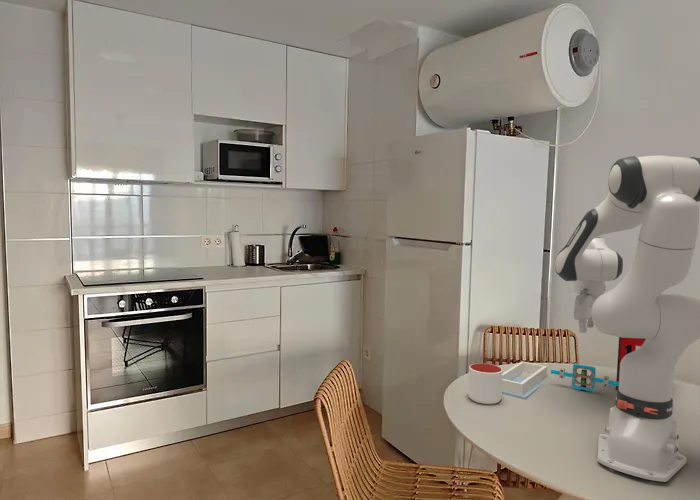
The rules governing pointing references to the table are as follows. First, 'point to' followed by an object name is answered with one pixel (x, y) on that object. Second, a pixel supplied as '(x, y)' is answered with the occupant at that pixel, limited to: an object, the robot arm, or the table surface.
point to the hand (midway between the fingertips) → (586, 329)
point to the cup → (485, 383)
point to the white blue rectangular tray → (523, 380)
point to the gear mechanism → (584, 377)
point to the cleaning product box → (627, 350)
